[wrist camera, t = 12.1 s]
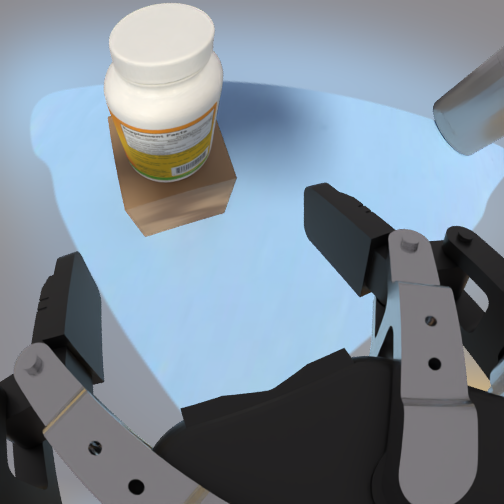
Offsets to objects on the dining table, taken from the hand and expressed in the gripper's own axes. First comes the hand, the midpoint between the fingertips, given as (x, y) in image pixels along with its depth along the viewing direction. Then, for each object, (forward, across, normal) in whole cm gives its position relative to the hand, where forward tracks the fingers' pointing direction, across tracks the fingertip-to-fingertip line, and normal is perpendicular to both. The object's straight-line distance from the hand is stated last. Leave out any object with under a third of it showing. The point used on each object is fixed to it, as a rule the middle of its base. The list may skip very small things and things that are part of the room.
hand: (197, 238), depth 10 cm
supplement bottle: (+11, 0, 0) cm, 11 cm away
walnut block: (+16, 0, +5) cm, 17 cm away
